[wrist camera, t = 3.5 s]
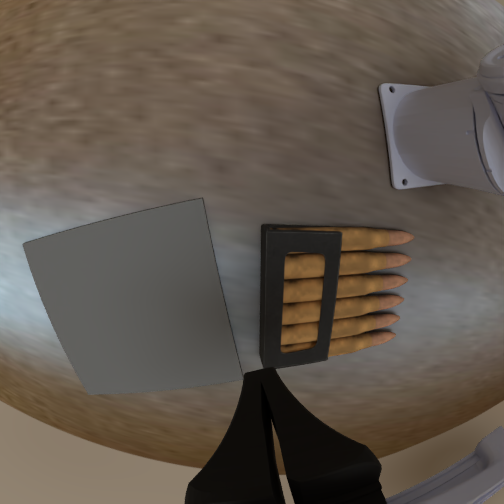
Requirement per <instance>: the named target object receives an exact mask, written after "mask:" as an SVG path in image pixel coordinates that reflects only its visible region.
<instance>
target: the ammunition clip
mask: <svg viewBox="0 0 504 504" xmlns="http://www.w3.org/2000/svg"><path fill="white" fill-rule="evenodd" d="M413 239H414V236H413V235H412V234H410V233H407V232H403V231H397V230H385V229H374V228H370V227H330V226H302V225H269V224H263V225H262V226H261V296H260V358H261V362H262V365H263V369H265V368H269V367H274V368H275V369H278V368H285V367H291V366H298V365H304V364H309V363H315V362H320V361H326V360H328V357H329V356H335V355H341V354H347V353H352V352H356V351H358V350H361V349H364V348H368V347H371V346H376V345H379V344H382V343H385V342H387V341H389V340H391V339H392V338H394V337H395V336H396V334H395V333H392V332H372V333H363V332H365V331H370V330H373V329H378V328H382V327H385V326H388V325H391V324H393V323H395V322H396V321H398V320H399V319H400V317H399V316H397V315H393V314H376V315H364V314H366V313H369V312H374V311H377V310H383V309H387V308H391V307H394V306H396V305H398V304H400V303H401V302H403V301H404V298H402V297H400V296H395V295H378V296H376V295H374V296H364V295H366V294H369V293H371V292H377V291H381V290H388V289H392V288H396V287H398V286H401V285H403V284H405V283H406V282H407V281H408V279H407V278H405V277H402V276H398V275H367V274H362V273H368V272H371V271H374V270H381V269H387V268H394V267H398V266H401V265H404V264H406V263H408V262H409V261H411V258H410V257H409V256H406V255H403V254H398V253H373V252H368V251H353V250H369V249H373V248H376V247H385V246H394V245H400V244H404V243H407V242H409V241H411V240H413ZM341 251H351V252H341ZM293 253H298V254H293ZM350 274H353V275H350ZM360 333H361V334H360Z"/></svg>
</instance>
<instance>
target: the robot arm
mask: <svg viewBox="0 0 504 504" xmlns="http://www.w3.org/2000/svg"><path fill="white" fill-rule="evenodd" d="M389 87H390V88H391V89H392V93H391V92H390V90H389ZM379 94H380V100H381V105H382V111H383V117H384V123H385V130H386V136H387V144H388V152H389V161H390V170H391V181H392V186H393V187H394V188H395V189H399V190H400V189H408V188H416V187H424V186H432V185H441V184H451V185H456V186H461V187H466V188H471V189H475V190H480V191H484V192H489V193H493V194H497V195H501V196H504V44H502V45H500V46H498V47H496V48H495V49H493V50H491V51H490V52H489V53H487V54H486V55H485V56H484V57H483V58H482V60H481V62H480V66H479V69H478V71H477V77H474V78H469V79H464V80H459V81H454V82H450V83H445V84H441V85H437V86H432V87H428V86H418V85H406V84H392V83H383V84H381V85H380V86H379ZM403 179H404V181H405V183H404V185H403V184H402V180H403ZM271 419H272V422H273V425H274V428H275V431H276V434H277V437H278V439H279V443H280V448H281V452H282V457H283V462H284V467H285V471H286V476H287V480H288V483H289V487H290V490H291V493H292V496H293V499H294V503H295V504H482V503H483V502H485V501H486V500H487V499H489V498H490V497H491V496H492V495H494V494H495V493H496V492H497V491H499V490H500V489H501V488H502V487H504V429H503V427H502V426H500V427H498V428H497V429H495V430H494V431H493V432H491V433H490V434H489V435H487V436H486V437H485V438H483V439H482V440H481V441H480V442H479V443H478V445H477V446H476V448H475V451H474V452H472V453H470V454H469V455H467V456H466V457H464V458H463V459H462V460H460V461H458V462H457V463H455V464H453V465H451V466H450V467H448V468H446V469H445V470H443V471H441V472H440V473H438V474H436V475H434V476H432V477H430V478H429V479H427V480H425V481H423V482H421V483H419V484H417V485H415V486H413V487H411V488H409V489H407V490H405V491H403V492H400V493H398V494H396V495H393V496H391V497H389V498H386V499H385V497H384V495H383V493H382V491H381V489H382V486H381V484H380V482H379V477H380V473H381V469H382V468H381V464H380V462H379V460H378V459H377V458H376V456H375V455H374V454H373V453H372V451H371V450H370V449H369V448H368V447H367V446H366V445H363V444H361V443H358V442H356V441H354V440H352V439H350V438H348V437H346V436H344V435H342V434H340V433H339V432H337V431H335V430H334V429H332V428H331V427H329V426H327V425H326V424H324V423H323V422H322V421H320V420H319V419H318V418H316V417H315V416H314V415H313V414H312V413H310V412H309V411H308V410H307V409H306V408H305V407H304V406H303V405H302V404H301V403H300V402H299V401H298V400H297V399H296V398H295V397H294V396H293V394H292V393H291V392H290V391H289V390H288V388H287V387H286V386H285V384H284V383H283V382H282V380H281V379H280V377H279V375H278V373H277V372H276V369H275V368H274V367H269V368H265V369H261V370H256V371H251V372H247V373H245V374H244V379H243V386H242V391H241V395H240V398H239V402H238V405H237V408H236V411H235V414H234V416H233V419H232V422H231V424H230V426H229V428H228V430H227V432H226V434H225V436H224V438H223V440H222V442H221V443H220V445H219V447H218V448H217V450H216V451H215V453H214V454H213V456H212V457H211V458H210V460H209V461H208V462H207V464H206V465H205V466H204V467H203V469H202V470H201V471H200V472H199V473H198V474H197V475H196V476H195V477H194V478H193V480H191V481H190V482H189V484H188V488H187V491H186V496H185V504H286V503H285V499H284V495H283V491H282V486H281V482H280V478H279V473H278V469H277V464H276V458H275V450H274V440H273V431H272V422H271Z"/></svg>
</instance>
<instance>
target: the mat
mask: <svg viewBox="0 0 504 504" xmlns="http://www.w3.org/2000/svg"><path fill="white" fill-rule="evenodd" d="M23 247H24V251H25V254H26V257H27V260H28V264H29V267H30V270H31V273H32V275H33V278H34V281H35V284H36V287H37V289H38V292H39V294H40V297H41V300H42V302H43V305H44V307H45V309H46V312H47V314H48V317H49V319H50V321H51V323H52V326H53V328H54V330H55V332H56V334H57V337H58V339H59V341H60V343H61V345H62V347H63V349H64V351H65V353H66V355H67V357H68V359H69V361H70V363H71V364H72V366H73V368H74V370H75V372H76V374H77V375H78V377H79V379H80V381H81V383H82V384H83V386H84V388H85V389H86V391H87V393H88V394H120V393H138V392H151V391H163V390H173V389H182V388H191V387H199V386H206V385H213V384H220V383H226V382H232V381H238V380H243V375H242V371H241V367H240V363H239V359H238V355H237V351H236V347H235V343H234V339H233V335H232V330H231V326H230V322H229V318H228V314H227V309H226V305H225V301H224V296H223V292H222V287H221V283H220V279H219V274H218V269H217V265H216V260H215V256H214V251H213V246H212V242H211V237H210V232H209V227H208V222H207V217H206V213H205V208H204V203H203V198H199V199H194V200H189V201H184V202H180V203H175V204H170V205H166V206H161V207H157V208H153V209H148V210H144V211H140V212H135V213H131V214H127V215H123V216H119V217H115V218H111V219H107V220H103V221H99V222H96V223H92V224H88V225H84V226H81V227H77V228H73V229H70V230H66V231H63V232H59V233H56V234H52V235H49V236H46V237H42V238H39V239H36V240H33V241H29V242H26V243H24V244H23Z"/></svg>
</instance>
